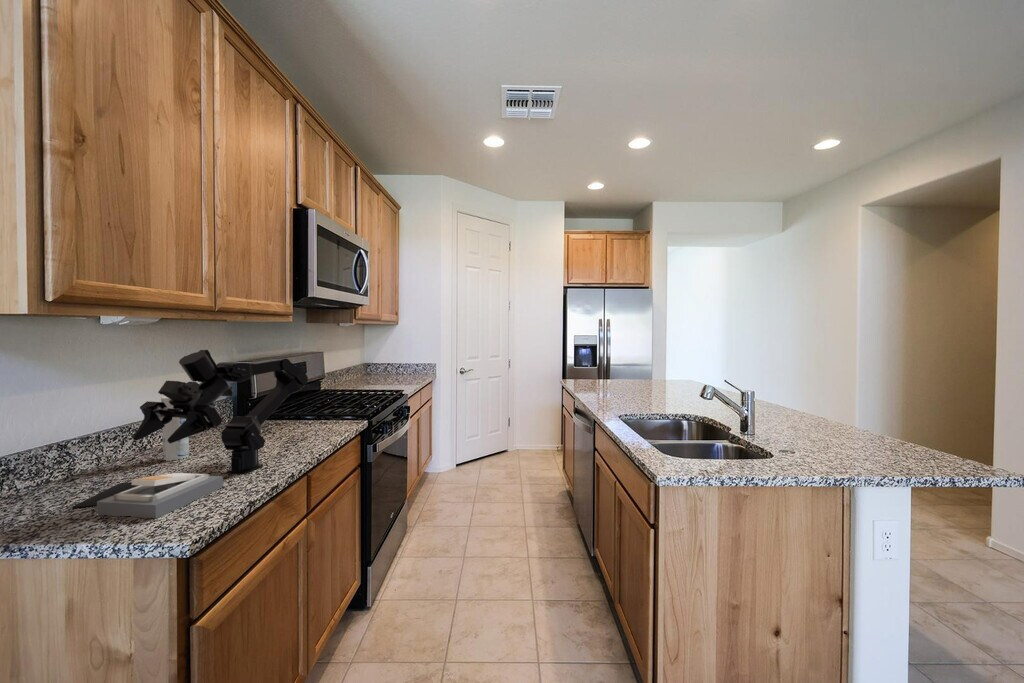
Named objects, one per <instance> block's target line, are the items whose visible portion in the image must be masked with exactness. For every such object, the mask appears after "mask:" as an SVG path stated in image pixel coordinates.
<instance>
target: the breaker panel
mask: <svg viewBox="0 0 1024 683" xmlns="http://www.w3.org/2000/svg"><path fill="white" fill-rule="evenodd" d="M181 473H182V474H195V478H194V479H192V480H186V481H181V482H175V483H169V484H164V485H158V486H141V485H140V486H137V487H134V488H132V489H129V490H126V491H123V492H121V493H118V494H115V495H114V496H111V497H108V498H105V499H103V500H100V501H97V507H96V515H97V514H98V515H97V516H104V515H114V516H113V517H120V516H131V517H130V518H136V517H141V519H151V518H155V520H156V518H157V519H159V518H161V517H163V516H165V515H167V514H169V512H170V513H171V511H172V512H174V511H176V510H178V509H180V508H182V506H183V507H184V505H185V506H187V505H189V504H191V503H193V502H195V501H197V500H196V499H198V498H200V499H202V498H203V497H202V496H204V497H205V495H206V496H208V495H210V494H209V493H211V492H213V491H215V492H217V491H219V490H221V489H223V488H224V476H220V475H210V474H209V473H208V474H207V473H190V472H189V473H188V472H181ZM222 487H223V488H222ZM220 488H221V489H220ZM218 489H219V490H218ZM216 490H217V491H216ZM213 493H214V492H213ZM207 494H208V495H207ZM211 494H212V493H211ZM201 497H202V498H201ZM194 500H195V501H194ZM198 500H199V499H198ZM192 501H193V502H192ZM190 502H191V503H190ZM188 503H189V504H188ZM186 504H187V505H186ZM175 509H176V510H175ZM173 510H174V511H173ZM160 516H161V517H160ZM158 517H159V518H158Z"/></svg>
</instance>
